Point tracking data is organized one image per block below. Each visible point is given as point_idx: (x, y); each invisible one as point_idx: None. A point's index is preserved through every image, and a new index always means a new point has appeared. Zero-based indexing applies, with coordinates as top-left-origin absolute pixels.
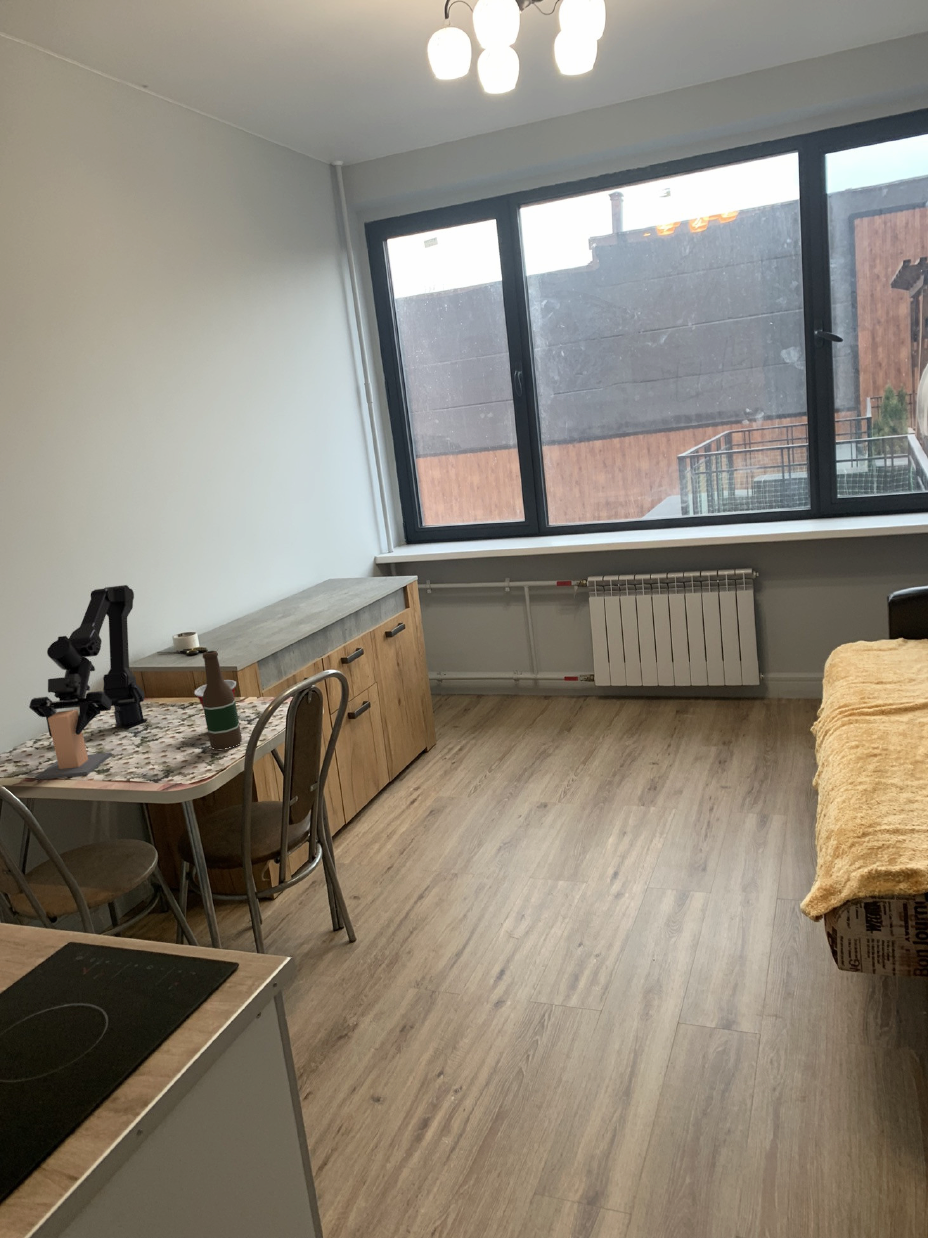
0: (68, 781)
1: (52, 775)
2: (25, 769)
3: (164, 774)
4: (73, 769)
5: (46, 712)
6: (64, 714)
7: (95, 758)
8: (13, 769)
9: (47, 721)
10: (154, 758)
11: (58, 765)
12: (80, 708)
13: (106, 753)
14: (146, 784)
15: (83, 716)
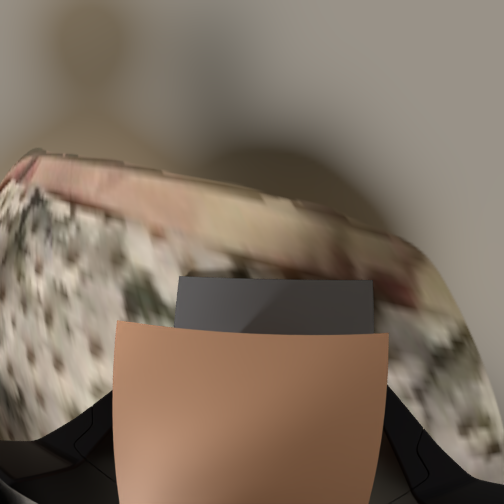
0: (228, 236)
1: (308, 280)
2: (455, 392)
3: (25, 226)
4: (243, 318)
5: (469, 493)
6: (194, 430)
7: None
8: (487, 394)
9: (426, 437)
10: (43, 349)
11: None
12: (49, 466)
13: None
14: (49, 181)
15: (75, 422)
